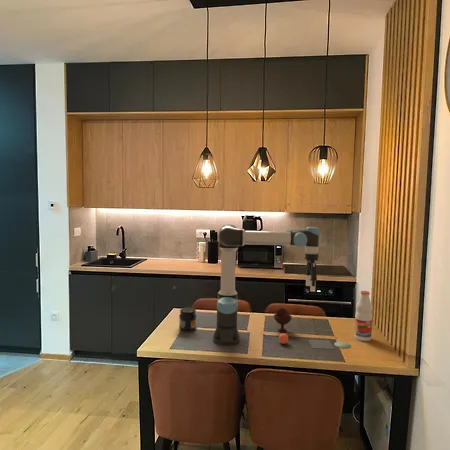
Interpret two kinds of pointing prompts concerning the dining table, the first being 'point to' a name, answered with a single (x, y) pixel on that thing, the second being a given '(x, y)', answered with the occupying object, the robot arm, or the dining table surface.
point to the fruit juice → (363, 318)
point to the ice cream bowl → (282, 318)
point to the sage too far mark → (342, 344)
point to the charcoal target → (321, 344)
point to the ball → (283, 338)
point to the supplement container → (187, 319)
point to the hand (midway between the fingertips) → (310, 288)
